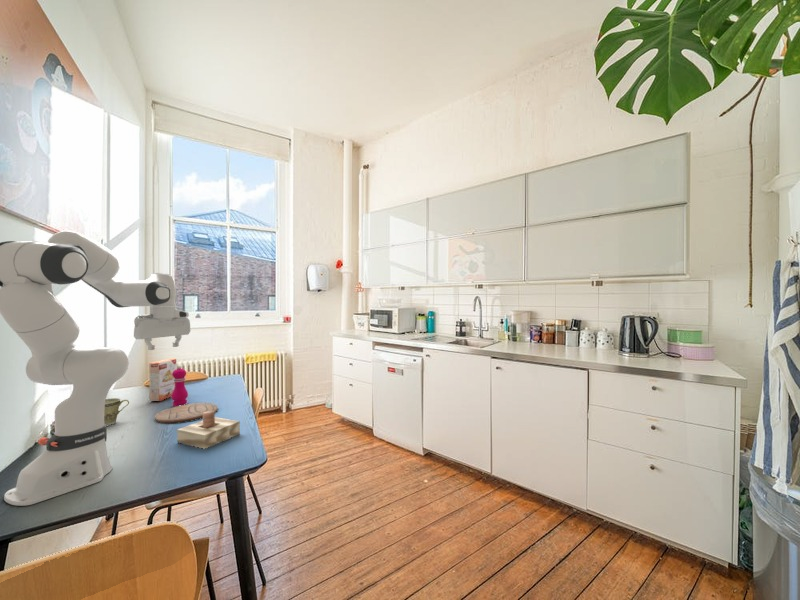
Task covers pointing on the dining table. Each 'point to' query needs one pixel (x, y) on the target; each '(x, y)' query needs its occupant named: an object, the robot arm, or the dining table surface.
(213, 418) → the peg
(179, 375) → the pepper mill
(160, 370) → the cracker box
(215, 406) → the trivet
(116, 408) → the ceramic cup
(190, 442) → the socket block
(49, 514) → the dining table surface
